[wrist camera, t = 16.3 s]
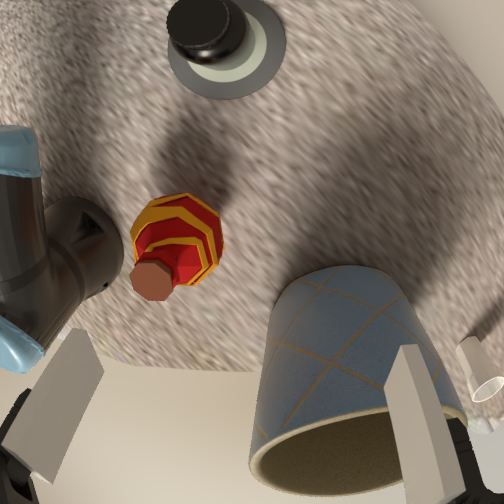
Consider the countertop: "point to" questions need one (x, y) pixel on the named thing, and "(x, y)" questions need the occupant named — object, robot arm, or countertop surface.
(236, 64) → the supplement bottle
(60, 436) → the robot arm
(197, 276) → the potion bottle
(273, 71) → the plate
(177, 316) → the countertop surface
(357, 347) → the planter
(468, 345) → the cup
